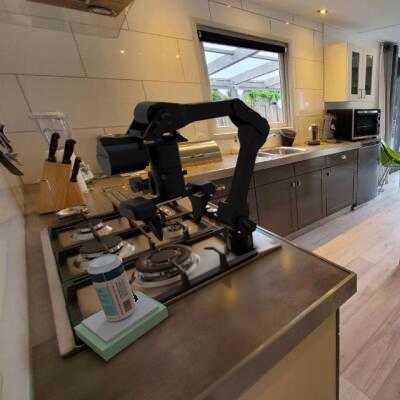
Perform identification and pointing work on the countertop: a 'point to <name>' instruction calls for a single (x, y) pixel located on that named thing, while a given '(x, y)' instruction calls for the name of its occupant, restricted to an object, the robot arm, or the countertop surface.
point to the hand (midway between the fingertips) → (180, 231)
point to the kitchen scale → (120, 327)
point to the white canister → (112, 286)
